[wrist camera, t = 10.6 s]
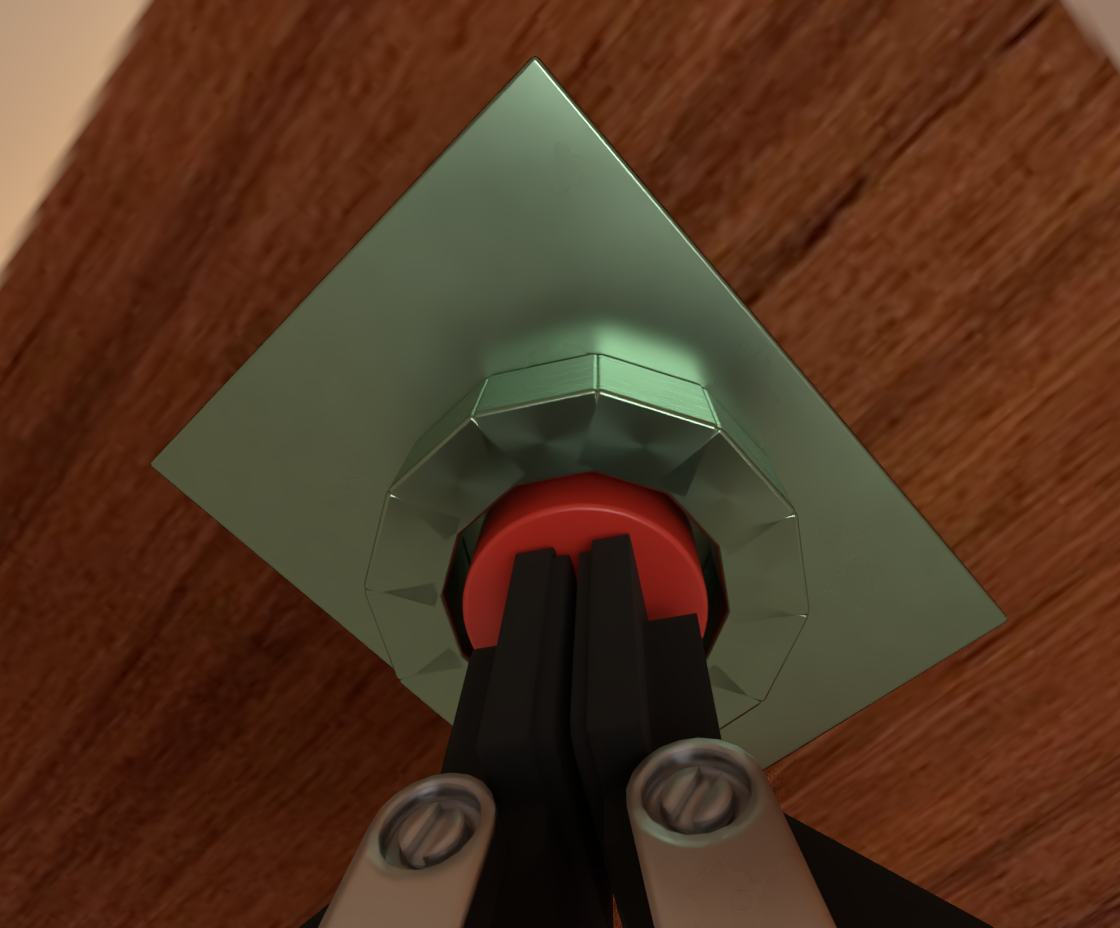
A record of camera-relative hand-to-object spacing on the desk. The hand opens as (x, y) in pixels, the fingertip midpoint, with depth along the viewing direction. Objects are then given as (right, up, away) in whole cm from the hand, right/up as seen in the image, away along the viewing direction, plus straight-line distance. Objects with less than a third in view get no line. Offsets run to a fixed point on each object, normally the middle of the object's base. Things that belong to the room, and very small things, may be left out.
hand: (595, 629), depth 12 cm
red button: (0, +1, +2) cm, 2 cm away
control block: (0, +2, +4) cm, 4 cm away
